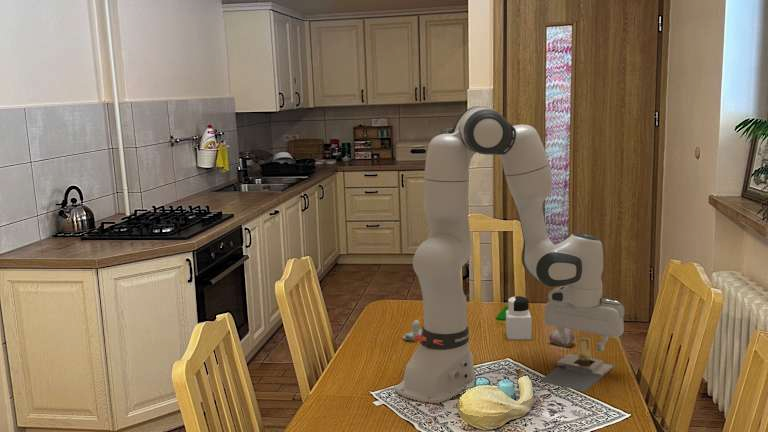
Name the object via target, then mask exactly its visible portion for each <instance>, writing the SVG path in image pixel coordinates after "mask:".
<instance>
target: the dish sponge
mask: <svg viewBox="0 0 768 432" xmlns="http://www.w3.org/2000/svg"><path fill="white" fill-rule="evenodd" d="M506 310H508V306H507V305H504V307H503V308H502V309H501V310H500V312H499V313H498V315H497V316H496V317H495V324H496V325H504V326H506Z"/></svg>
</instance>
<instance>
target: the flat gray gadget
mask: <svg viewBox="0 0 768 432" xmlns="http://www.w3.org/2000/svg"><path fill="white" fill-rule="evenodd" d="M603 363H604V360H601V359H598V358H597V359H596V358H592V357H590V366H584V365H579V364H578V354H573V353H567V354H566V355H564V356H563V357H562V358H561V359H559V360H557V361H556V365H557V366H565V367H566V370H570V371H574V372H579V373H583V374H588V375H593V376H597V377H602V376H603V377H604V376H605V375H606V374H607V373H609V372H610V371H611V370H612V369H613V368H612V365H613V364H611V365H607V364H608V363H606V364H603ZM609 370H610V371H609ZM603 377H602V378H603Z"/></svg>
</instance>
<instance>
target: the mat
mask: <svg viewBox="0 0 768 432" xmlns="http://www.w3.org/2000/svg"><path fill="white" fill-rule="evenodd" d="M603 364H607V365H612V369H613V368H614V367H615V366H616V365H614V364H610V363H605V362H603ZM610 371H611V370H609V371H608V372H610ZM603 377H604V376H602V377H597V376H593V375H588V374H583V373H579V372H574V371H570V370H566V367H565V366H560V365H558V366H557V367H556V368H555V369H553V370H552V371H551V372H549V373H548V374H547V375H545V376H544V377H542V378H541V379H540V380H539V382H542V383H545V384H550V385H555V386H559V387H562V388H563V387H564V388H567V389H572V390H576V391H580V392H585V393H586V392H587V391H588V390H589V389H591V387H592V386H594V385H595V384H596V383H597V382H598V381H599V380H601V379H602V378H603Z"/></svg>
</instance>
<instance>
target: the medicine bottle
mask: <svg viewBox="0 0 768 432" xmlns="http://www.w3.org/2000/svg"><path fill="white" fill-rule="evenodd" d="M507 301H508V302H507V305H508V310H506V325H505V333H506V337H507V340H511V341H512V340H515V341H517V340H519V341H520V340H521V341H523V340H524V341H526V340H528V341H529V340H532V333H533V332H532V331H533V330H532V328H533V327H532V322H533V321H532V319H533V318H532V315H531V311H530V310H529V305H530V304H529V299H528V298H527V297H525V296H521V295H520V296H518V295H516V296H512V297H509V298H508V300H507Z"/></svg>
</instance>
